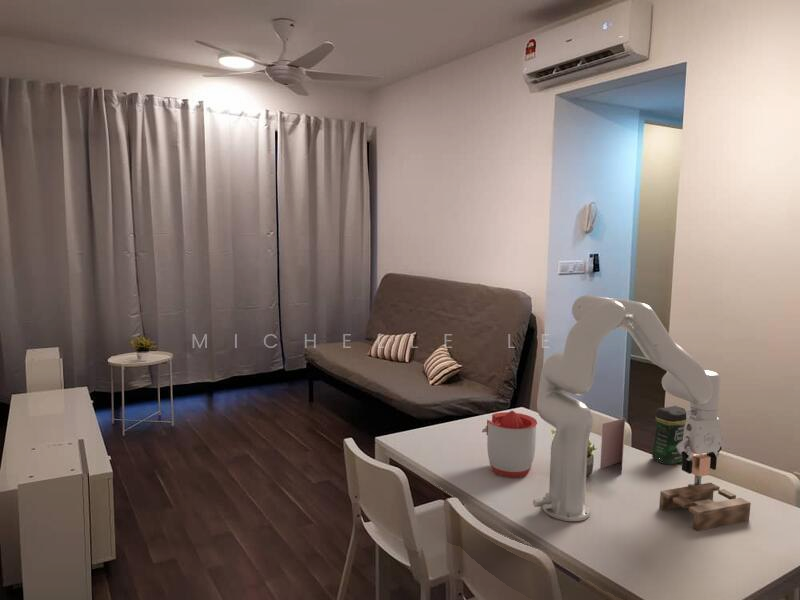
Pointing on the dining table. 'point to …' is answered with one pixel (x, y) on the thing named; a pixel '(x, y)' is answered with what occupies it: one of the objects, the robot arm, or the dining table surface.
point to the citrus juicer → (511, 443)
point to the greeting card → (612, 442)
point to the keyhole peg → (700, 467)
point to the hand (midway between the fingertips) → (698, 469)
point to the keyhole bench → (706, 505)
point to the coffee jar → (669, 434)
